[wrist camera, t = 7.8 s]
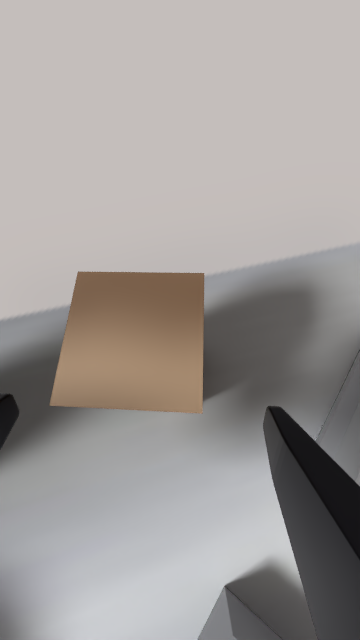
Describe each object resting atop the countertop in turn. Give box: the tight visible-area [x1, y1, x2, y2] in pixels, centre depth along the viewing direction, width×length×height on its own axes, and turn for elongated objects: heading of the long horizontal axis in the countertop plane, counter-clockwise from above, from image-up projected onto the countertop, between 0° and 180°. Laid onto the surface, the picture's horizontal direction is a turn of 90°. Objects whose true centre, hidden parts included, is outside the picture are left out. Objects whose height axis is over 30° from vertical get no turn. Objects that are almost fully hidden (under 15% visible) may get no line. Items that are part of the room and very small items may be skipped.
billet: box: [49, 272, 204, 413], centre depth 13 cm, size 4×4×11 cm
